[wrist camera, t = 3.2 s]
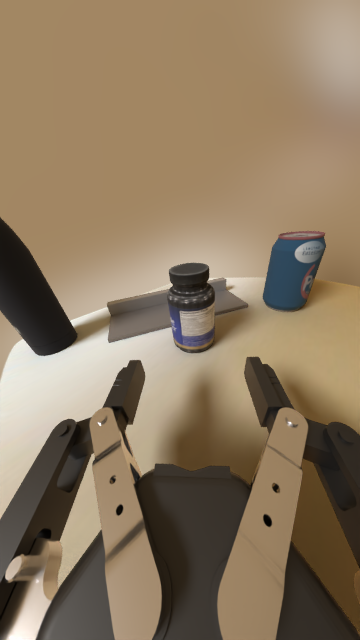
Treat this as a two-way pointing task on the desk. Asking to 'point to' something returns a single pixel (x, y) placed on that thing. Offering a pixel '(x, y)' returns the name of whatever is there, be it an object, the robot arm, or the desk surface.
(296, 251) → the soda can
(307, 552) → the desk surface
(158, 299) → the price rail shelf
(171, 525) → the robot arm
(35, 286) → the black water bottle
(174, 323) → the pill bottle
